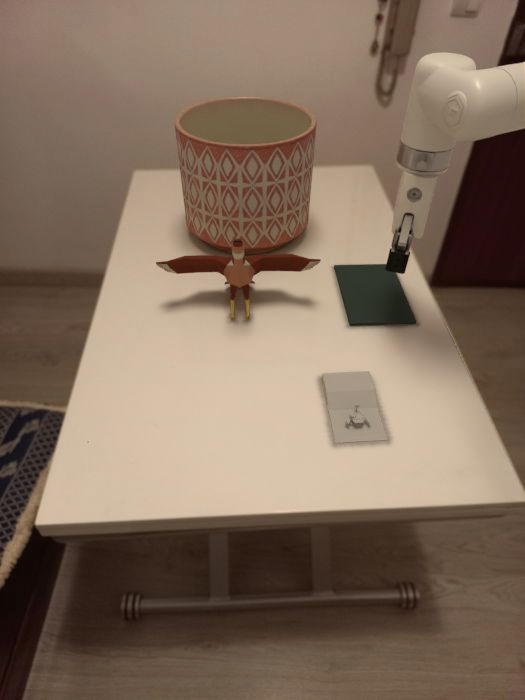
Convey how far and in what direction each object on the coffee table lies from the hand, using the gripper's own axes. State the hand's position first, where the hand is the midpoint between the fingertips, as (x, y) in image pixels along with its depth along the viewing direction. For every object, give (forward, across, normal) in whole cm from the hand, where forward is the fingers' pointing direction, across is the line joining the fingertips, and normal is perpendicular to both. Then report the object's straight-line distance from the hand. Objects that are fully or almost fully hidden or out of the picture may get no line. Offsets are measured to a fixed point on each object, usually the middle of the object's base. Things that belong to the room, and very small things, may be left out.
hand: (397, 258), depth 79 cm
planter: (+10, +18, +34) cm, 40 cm away
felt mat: (+10, +2, +3) cm, 11 cm away
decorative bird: (+10, -8, +26) cm, 29 cm away
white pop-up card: (+10, -26, +1) cm, 28 cm away
